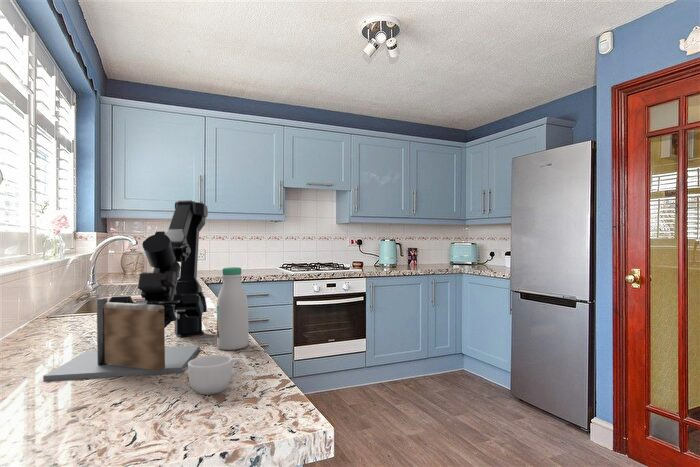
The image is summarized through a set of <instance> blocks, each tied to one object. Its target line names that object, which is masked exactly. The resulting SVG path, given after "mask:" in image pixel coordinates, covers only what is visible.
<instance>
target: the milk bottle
mask: <svg viewBox="0 0 700 467" xmlns="http://www.w3.org/2000/svg"><path fill="white" fill-rule="evenodd" d="M241 276H242V268H241V267H233V266H232V267H224V268H222V278H223V282H222V285H221V288H220V290H219V292H218V295H217V299H216V345H217V348H218V349H220V350H224V351H234V350H240V349H244V348H246V347H248V346H249V342H250V341H249V338H250V335H249V333H250V332H249V331H250V330H249V327H250V326H249V301H248V296H247V292H246V290H245V288H244V286H243V284H242V279H241Z"/></svg>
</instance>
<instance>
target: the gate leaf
mask: <svg viewBox="0 0 700 467" xmlns="http://www.w3.org/2000/svg"><path fill="white" fill-rule="evenodd" d="M104 338H105V363H107V364H114V365H122V366H130V367H137V368H145V369H152V370H161V369H164V368H165V347H166V344H165V342H166V341H165V339H166V336H165V328H164V306H163V305H149V304H132V303H114V302H109V301H108V302H106V303H105V304H104Z"/></svg>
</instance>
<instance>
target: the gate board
mask: <svg viewBox="0 0 700 467" xmlns="http://www.w3.org/2000/svg"><path fill="white" fill-rule="evenodd" d="M200 350H201V345H199V344H195V345H194V344H193V345H175V346H165V368H164V369H161V370H152V369H145V368H137V367H130V366H122V365H114V364H106V365H98V359H97V350H86V351H84V352H83V353H81V354H79V355H78V356H76V357H74V358H71V360H70V359H69V361H67V362H66V363H64V364H62V365H59V366H58V367H57V368H55V369H53V370H51V371H49V372H47V373H45V374H44V375H42V376H43V377H42V378H43V379H42V380H43V382H45V381H46V382H47V381H50V382H51V381H61V380H63V381H64V380H66V381H67V380H80V379H95V378H97V379H98V378H111V377H112V378H113V377H114V378H115V377H129V376H143V375H145V376H146V375H160V374H162V375H163V374H177V373H182V372H183V371H184V370H185V369H186V367H188V362H189V361H191V360H192V359H194V357H195V356H196V355H197V353H198V352H199V351H200Z"/></svg>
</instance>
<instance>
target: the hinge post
mask: <svg viewBox="0 0 700 467" xmlns="http://www.w3.org/2000/svg"><path fill="white" fill-rule="evenodd" d="M106 302H109V299H108V297H99V298H97V299H96V337H97V338H96V340H97V341H96V344H97V346H96V347H97V350H96V351H97V359H98V365H106V364H107V363H105V338H104V304H105V303H106Z"/></svg>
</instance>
